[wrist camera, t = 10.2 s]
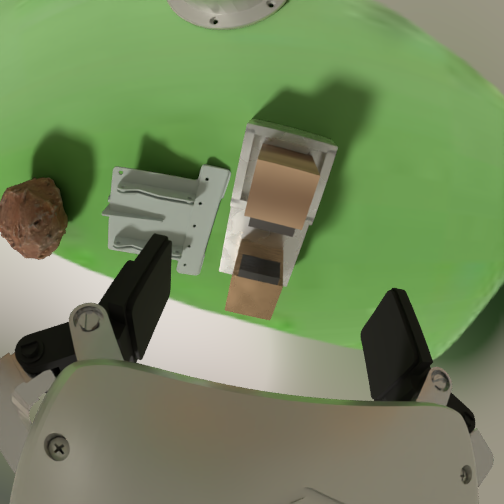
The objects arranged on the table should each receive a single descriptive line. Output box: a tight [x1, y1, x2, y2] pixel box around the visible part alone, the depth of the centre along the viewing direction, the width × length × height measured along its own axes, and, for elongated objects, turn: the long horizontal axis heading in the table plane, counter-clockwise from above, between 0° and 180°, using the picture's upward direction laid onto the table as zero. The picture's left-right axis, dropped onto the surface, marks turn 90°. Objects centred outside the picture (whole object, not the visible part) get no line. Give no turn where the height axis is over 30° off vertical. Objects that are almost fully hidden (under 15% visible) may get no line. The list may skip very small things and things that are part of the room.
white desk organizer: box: [219, 118, 338, 320], centre depth 27 cm, size 17×8×9 cm, turn 168°
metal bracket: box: [102, 164, 231, 275], centre depth 32 cm, size 14×6×15 cm
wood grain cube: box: [244, 143, 320, 237], centre depth 23 cm, size 5×5×6 cm
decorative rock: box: [0, 177, 68, 260], centre depth 29 cm, size 13×11×10 cm
